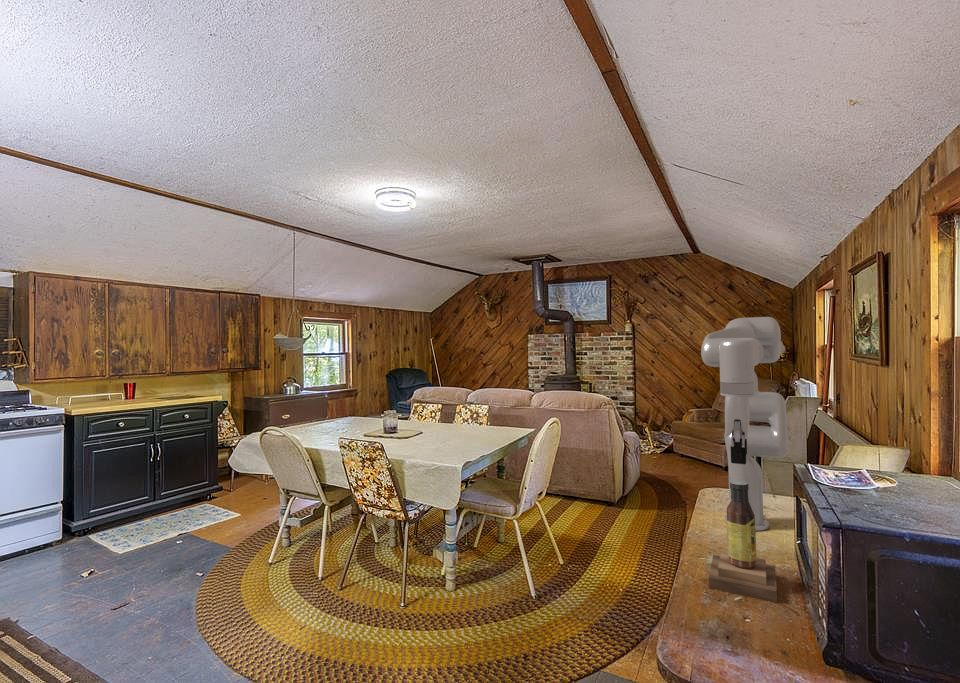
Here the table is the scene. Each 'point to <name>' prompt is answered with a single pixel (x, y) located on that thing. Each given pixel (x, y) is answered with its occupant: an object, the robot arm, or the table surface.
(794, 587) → the table surface
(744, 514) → the sauce bottle
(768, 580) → the pedestal
